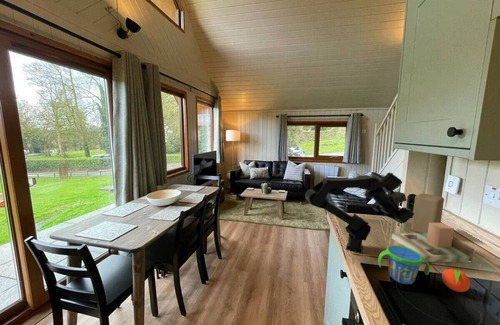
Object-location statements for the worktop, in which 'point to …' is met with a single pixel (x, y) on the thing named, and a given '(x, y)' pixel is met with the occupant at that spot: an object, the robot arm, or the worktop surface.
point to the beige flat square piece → (435, 248)
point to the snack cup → (403, 263)
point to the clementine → (456, 280)
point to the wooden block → (426, 212)
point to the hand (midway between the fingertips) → (401, 222)
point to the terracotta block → (440, 235)
